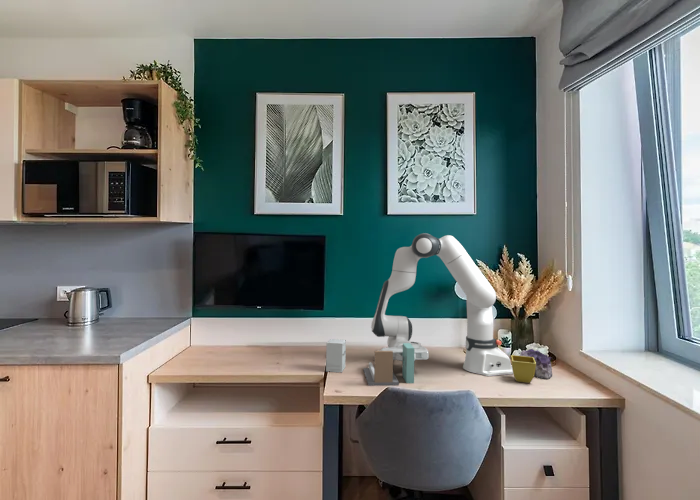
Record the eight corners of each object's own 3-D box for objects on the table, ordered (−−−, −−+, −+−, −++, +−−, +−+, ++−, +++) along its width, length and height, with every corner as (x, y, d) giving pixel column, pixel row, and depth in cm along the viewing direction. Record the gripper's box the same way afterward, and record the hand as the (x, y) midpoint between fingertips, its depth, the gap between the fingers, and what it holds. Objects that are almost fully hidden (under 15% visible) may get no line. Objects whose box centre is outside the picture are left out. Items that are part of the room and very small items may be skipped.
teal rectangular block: (409, 376, 163) (410, 343, 163) (414, 383, 155) (414, 348, 155) (402, 376, 162) (402, 343, 162) (406, 383, 155) (406, 348, 154)
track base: (390, 370, 170) (391, 340, 170) (398, 385, 152) (399, 351, 152) (363, 370, 169) (363, 340, 169) (368, 385, 151) (368, 352, 151)
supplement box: (342, 373, 166) (342, 343, 166) (325, 371, 168) (325, 342, 167) (345, 367, 173) (346, 339, 173) (329, 366, 175) (330, 338, 175)
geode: (564, 380, 160) (561, 357, 160) (535, 383, 161) (532, 360, 160) (542, 363, 180) (540, 342, 180) (517, 366, 181) (514, 345, 181)
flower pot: (535, 385, 153) (536, 363, 153) (512, 383, 156) (512, 360, 156) (533, 378, 162) (533, 357, 162) (510, 376, 165) (510, 354, 164)
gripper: (378, 343, 172) (383, 351, 158) (423, 342, 173) (432, 351, 159) (378, 357, 172) (382, 367, 158) (423, 356, 173) (432, 366, 159)
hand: (408, 359), depth 159 cm, fingers closed on teal rectangular block, 3 cm apart
